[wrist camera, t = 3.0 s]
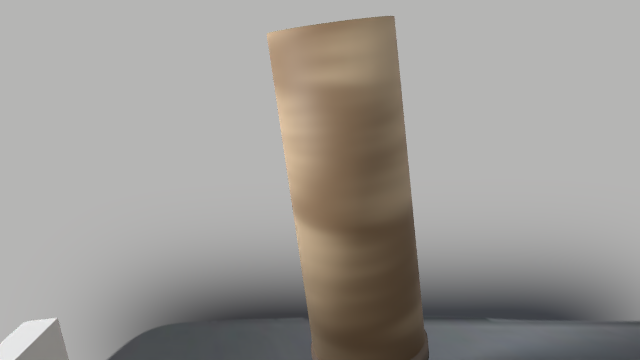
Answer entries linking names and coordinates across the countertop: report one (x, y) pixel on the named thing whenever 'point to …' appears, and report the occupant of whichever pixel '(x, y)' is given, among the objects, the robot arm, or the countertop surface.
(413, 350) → the peg
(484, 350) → the countertop surface
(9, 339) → the robot arm
